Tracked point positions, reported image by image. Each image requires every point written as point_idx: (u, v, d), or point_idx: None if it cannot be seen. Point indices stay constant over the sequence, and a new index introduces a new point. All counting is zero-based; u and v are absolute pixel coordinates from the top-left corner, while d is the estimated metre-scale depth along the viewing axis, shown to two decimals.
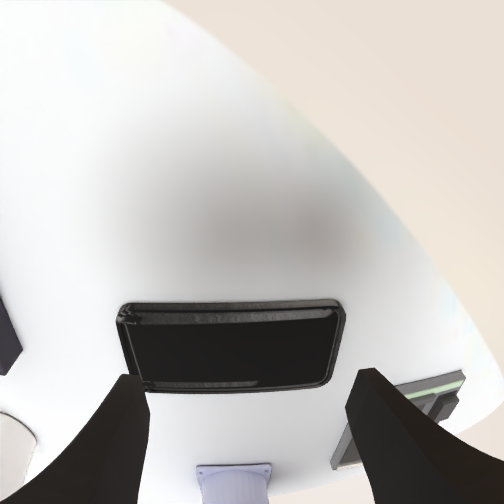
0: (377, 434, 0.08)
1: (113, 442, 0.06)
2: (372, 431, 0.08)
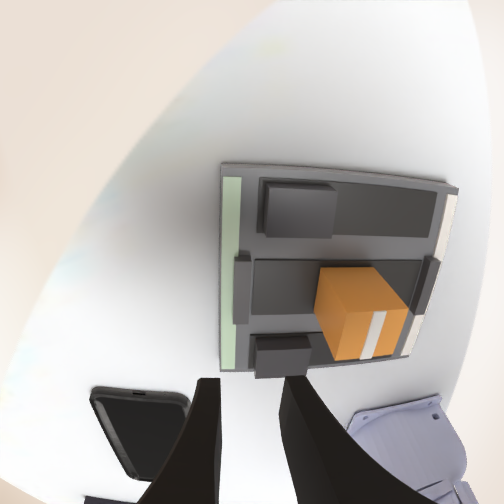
0: (298, 447, 0.08)
1: (215, 449, 0.07)
2: (295, 443, 0.08)
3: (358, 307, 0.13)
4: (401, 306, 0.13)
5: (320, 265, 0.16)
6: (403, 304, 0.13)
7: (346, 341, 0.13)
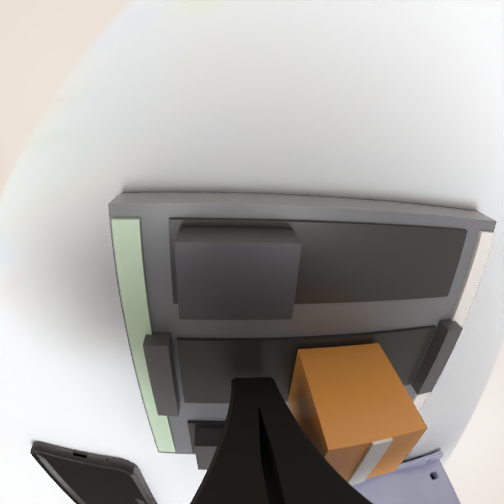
0: (261, 450, 0.08)
1: (259, 448, 0.07)
2: None
3: (348, 435, 0.07)
4: (417, 424, 0.07)
5: (279, 346, 0.10)
6: (420, 419, 0.07)
7: None
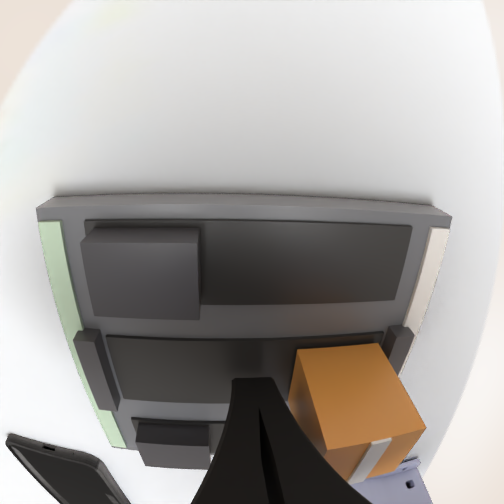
0: (261, 450, 0.08)
1: (260, 448, 0.07)
2: None
3: (347, 435, 0.07)
4: (416, 424, 0.07)
5: (204, 347, 0.10)
6: (419, 419, 0.07)
7: None
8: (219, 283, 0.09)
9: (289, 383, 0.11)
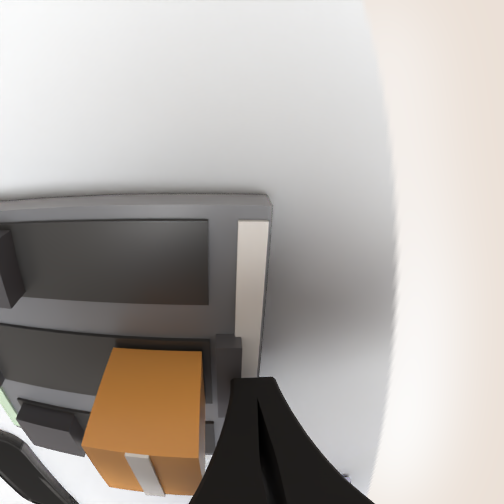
0: (262, 450, 0.08)
1: (258, 448, 0.07)
2: (260, 446, 0.08)
3: (105, 439, 0.06)
4: (188, 450, 0.07)
5: (40, 336, 0.10)
6: (195, 446, 0.07)
7: (108, 473, 0.07)
8: (33, 278, 0.09)
9: None
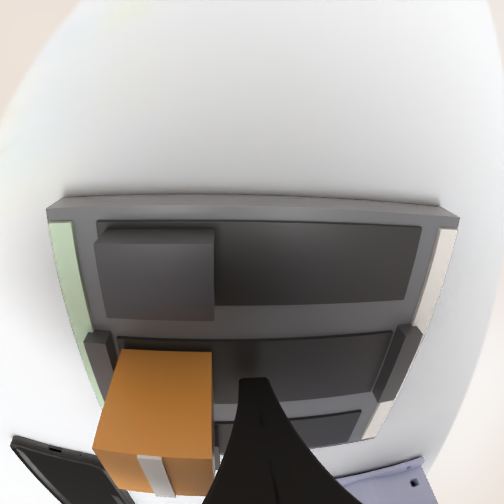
0: None
1: (269, 447, 0.07)
2: None
3: (117, 440, 0.06)
4: (201, 450, 0.07)
5: (216, 347, 0.10)
6: (208, 446, 0.07)
7: (118, 475, 0.07)
8: (233, 284, 0.09)
9: (299, 383, 0.11)
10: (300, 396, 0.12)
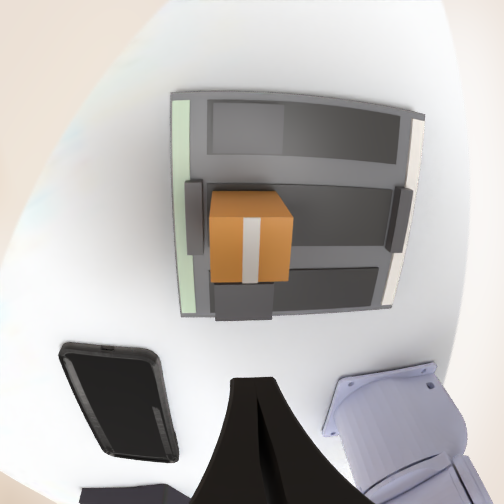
0: (262, 450, 0.08)
1: (258, 448, 0.07)
2: (260, 446, 0.08)
3: (227, 214, 0.12)
4: (285, 215, 0.12)
5: (276, 189, 0.15)
6: (289, 214, 0.12)
7: (218, 256, 0.12)
8: (289, 140, 0.14)
9: (332, 227, 0.16)
10: (333, 241, 0.17)
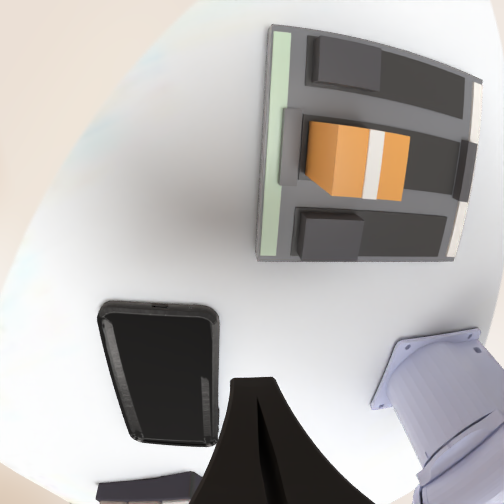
0: (262, 450, 0.08)
1: (258, 448, 0.07)
2: (260, 446, 0.08)
3: None
4: None
5: (367, 127, 0.14)
6: (403, 135, 0.11)
7: (343, 166, 0.11)
8: (380, 83, 0.14)
9: (412, 170, 0.15)
10: (412, 185, 0.16)
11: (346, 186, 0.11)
